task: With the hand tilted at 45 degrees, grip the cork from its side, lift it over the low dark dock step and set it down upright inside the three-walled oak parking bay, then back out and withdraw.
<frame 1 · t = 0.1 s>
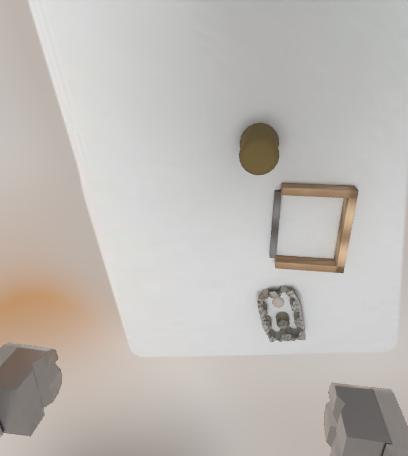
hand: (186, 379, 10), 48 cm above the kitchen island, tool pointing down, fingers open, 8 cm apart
bay: (308, 225, 58), on the kitchen island
cork: (259, 142, 54), on the kitchen island
egg carton: (281, 307, 66), on the kitchen island
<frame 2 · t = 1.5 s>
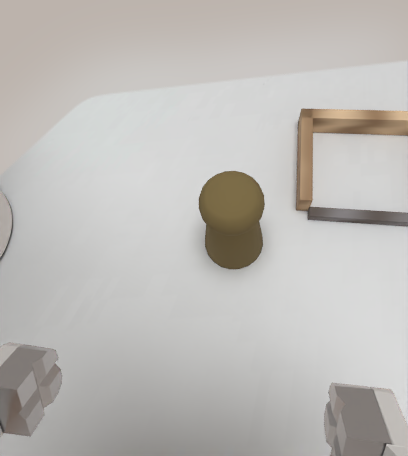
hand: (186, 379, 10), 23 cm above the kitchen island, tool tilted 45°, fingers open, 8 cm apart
bay: (365, 172, 37), on the kitchen island
cork: (233, 241, 36), on the kitchen island
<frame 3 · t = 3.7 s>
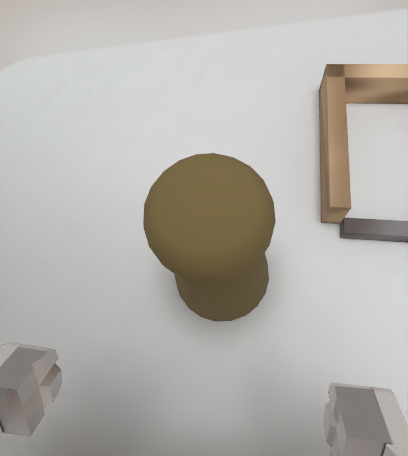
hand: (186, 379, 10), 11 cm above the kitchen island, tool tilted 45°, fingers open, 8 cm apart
cork: (221, 274, 23), on the kitchen island
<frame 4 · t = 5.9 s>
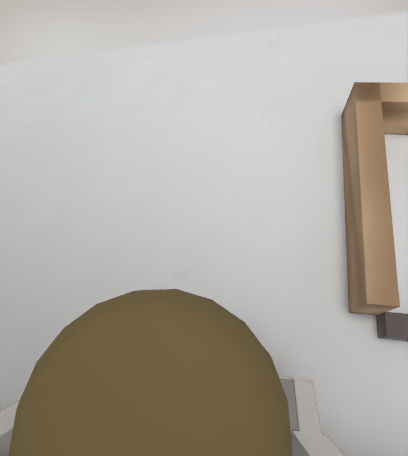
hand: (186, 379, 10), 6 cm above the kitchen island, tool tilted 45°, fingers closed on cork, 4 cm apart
cork: (205, 389, 16), on the kitchen island, touching gripper
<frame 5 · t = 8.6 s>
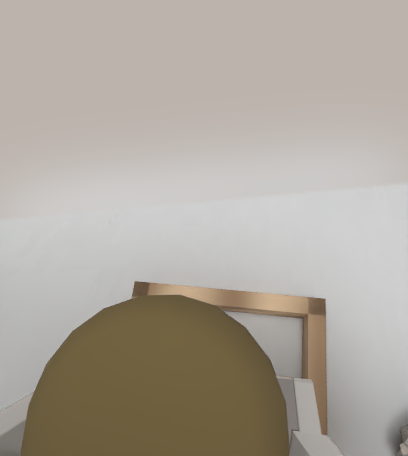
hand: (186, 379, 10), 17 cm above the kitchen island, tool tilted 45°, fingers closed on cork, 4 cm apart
bay: (220, 377, 26), on the kitchen island
cork: (205, 390, 16), point 11 cm above the kitchen island, touching gripper
when the fingers open (7 cm above the kitchen island, at t = 11.4 s): cork drops 1 cm, resting in bay.
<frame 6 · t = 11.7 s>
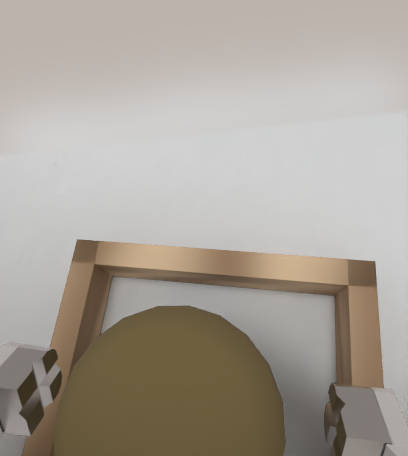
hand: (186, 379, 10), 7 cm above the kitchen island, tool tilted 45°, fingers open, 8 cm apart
bay: (208, 386, 17), on the kitchen island
cork: (209, 390, 17), resting in bay
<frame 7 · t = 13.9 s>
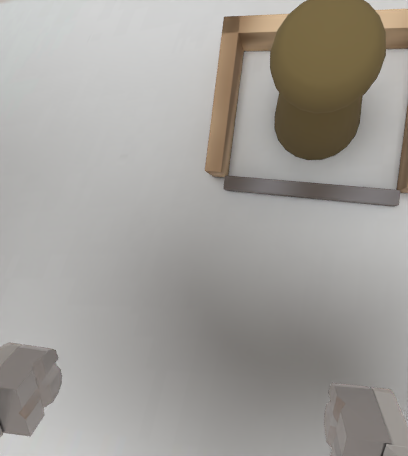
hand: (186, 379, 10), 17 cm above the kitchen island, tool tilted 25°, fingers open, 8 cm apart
bay: (315, 117, 25), on the kitchen island
cork: (315, 120, 26), resting in bay
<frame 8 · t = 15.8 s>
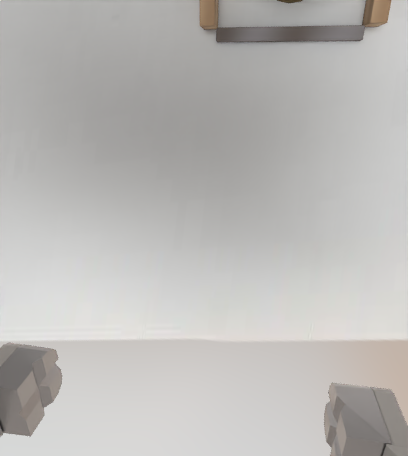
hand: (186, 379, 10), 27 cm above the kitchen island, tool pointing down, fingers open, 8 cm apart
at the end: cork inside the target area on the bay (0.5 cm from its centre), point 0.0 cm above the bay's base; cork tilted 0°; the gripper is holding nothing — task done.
